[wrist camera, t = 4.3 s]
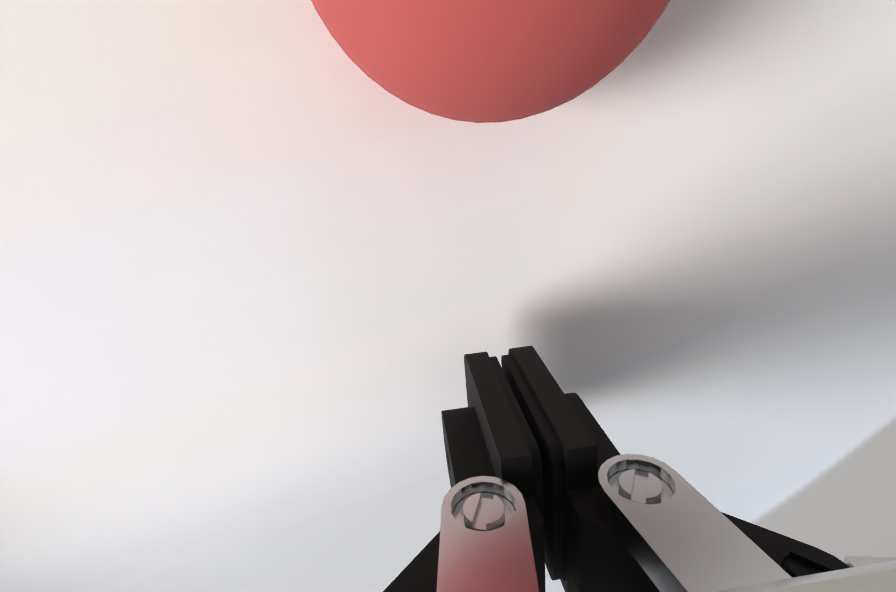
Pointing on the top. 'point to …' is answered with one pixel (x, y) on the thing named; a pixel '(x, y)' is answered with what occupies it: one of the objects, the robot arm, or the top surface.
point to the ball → (488, 49)
